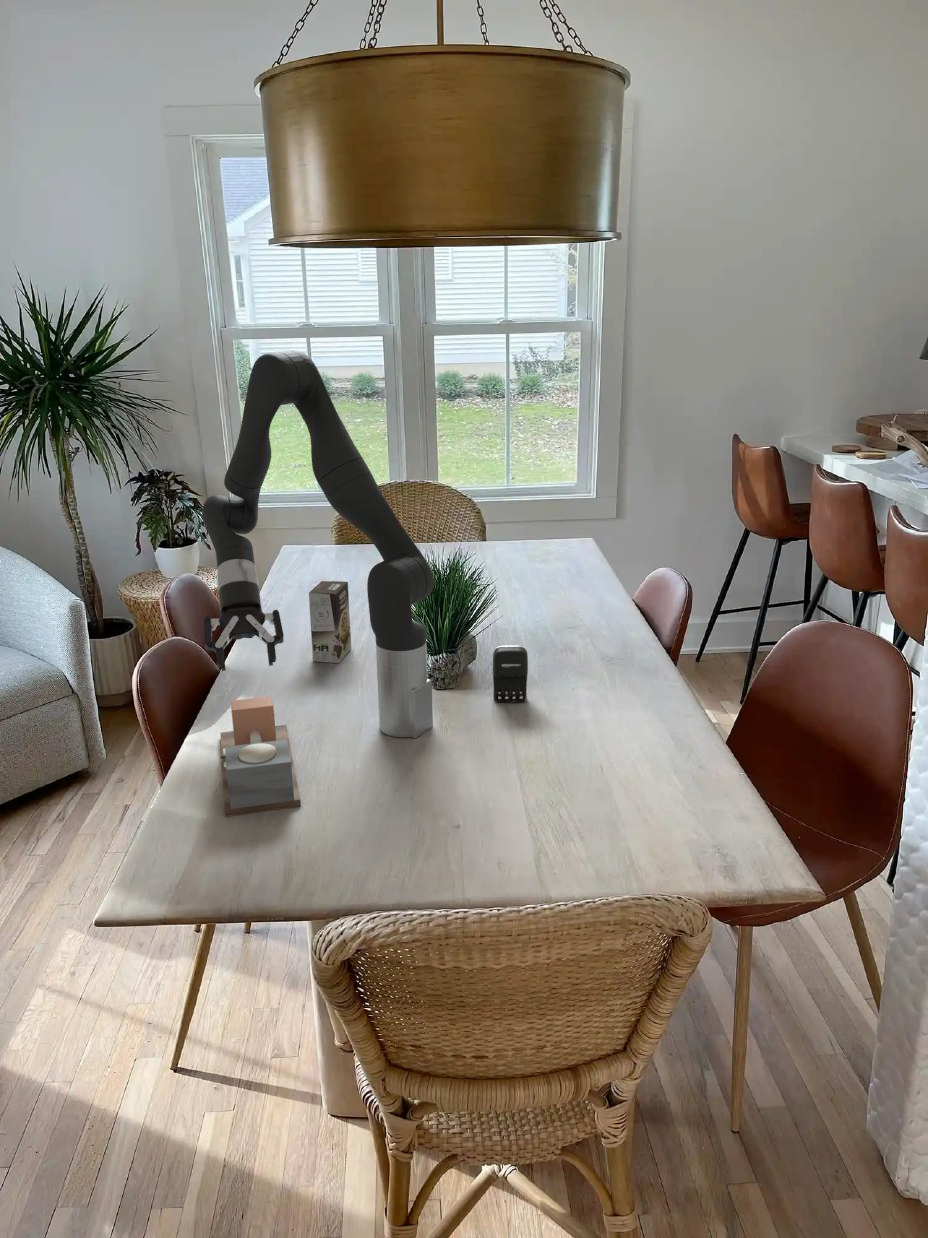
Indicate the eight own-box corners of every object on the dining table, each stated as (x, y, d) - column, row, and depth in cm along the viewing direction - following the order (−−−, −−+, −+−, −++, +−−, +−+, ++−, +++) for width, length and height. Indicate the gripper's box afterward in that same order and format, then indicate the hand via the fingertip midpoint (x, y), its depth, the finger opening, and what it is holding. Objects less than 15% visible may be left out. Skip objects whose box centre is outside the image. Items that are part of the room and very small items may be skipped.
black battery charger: (492, 705, 193) (492, 651, 189) (492, 697, 196) (492, 644, 192) (528, 705, 193) (529, 651, 189) (527, 697, 196) (527, 644, 192)
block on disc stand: (220, 754, 171) (215, 702, 168) (276, 747, 174) (271, 696, 170) (221, 778, 163) (216, 725, 160) (280, 771, 165) (275, 718, 162)
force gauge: (221, 738, 180) (216, 696, 177) (286, 730, 183) (283, 688, 180) (224, 816, 155) (219, 768, 152) (301, 806, 158) (297, 758, 155)
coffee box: (339, 663, 213) (335, 594, 208) (312, 661, 214) (307, 592, 209) (352, 648, 222) (349, 580, 216) (325, 646, 223) (321, 579, 217)
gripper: (198, 582, 180) (206, 663, 173) (276, 575, 183) (286, 654, 177) (201, 601, 187) (208, 679, 180) (276, 593, 190) (286, 670, 183)
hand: (247, 666), depth 178 cm, fingers open, 8 cm apart
